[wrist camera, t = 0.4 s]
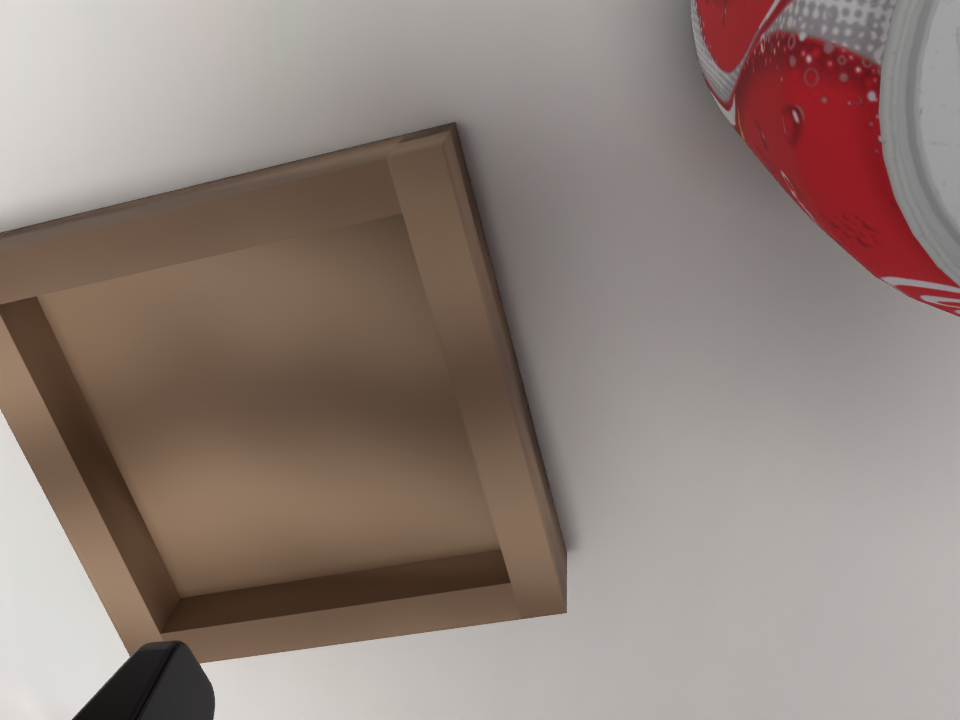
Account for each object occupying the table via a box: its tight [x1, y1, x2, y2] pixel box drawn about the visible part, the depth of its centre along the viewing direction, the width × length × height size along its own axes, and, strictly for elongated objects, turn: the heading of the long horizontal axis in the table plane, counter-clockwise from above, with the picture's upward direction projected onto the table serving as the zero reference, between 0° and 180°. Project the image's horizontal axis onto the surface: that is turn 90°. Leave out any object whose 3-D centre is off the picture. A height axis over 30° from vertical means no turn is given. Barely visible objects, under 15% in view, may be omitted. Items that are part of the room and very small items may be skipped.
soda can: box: [691, 0, 960, 316], centre depth 14 cm, size 7×7×12 cm
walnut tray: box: [0, 122, 567, 663], centre depth 23 cm, size 12×12×2 cm
